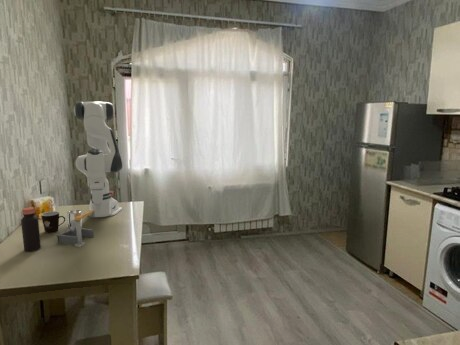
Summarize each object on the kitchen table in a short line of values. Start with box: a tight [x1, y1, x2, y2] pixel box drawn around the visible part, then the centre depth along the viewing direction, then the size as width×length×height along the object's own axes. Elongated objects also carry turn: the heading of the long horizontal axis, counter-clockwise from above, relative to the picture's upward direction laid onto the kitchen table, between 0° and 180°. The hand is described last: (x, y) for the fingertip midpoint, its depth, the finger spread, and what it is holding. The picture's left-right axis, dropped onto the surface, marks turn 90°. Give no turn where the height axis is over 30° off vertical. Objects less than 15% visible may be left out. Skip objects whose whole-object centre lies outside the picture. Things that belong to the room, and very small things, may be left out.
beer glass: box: [66, 209, 84, 240], centre depth 161 cm, size 7×7×15 cm
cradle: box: [56, 221, 95, 248], centre depth 160 cm, size 13×14×12 cm
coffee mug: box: [40, 210, 66, 234], centre depth 173 cm, size 12×9×10 cm
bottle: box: [20, 206, 42, 253], centre depth 149 cm, size 7×7×20 cm
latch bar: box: [75, 210, 96, 221], centre depth 159 cm, size 15×3×4 cm, turn 173°
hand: (98, 208), depth 162 cm, fingers closed
